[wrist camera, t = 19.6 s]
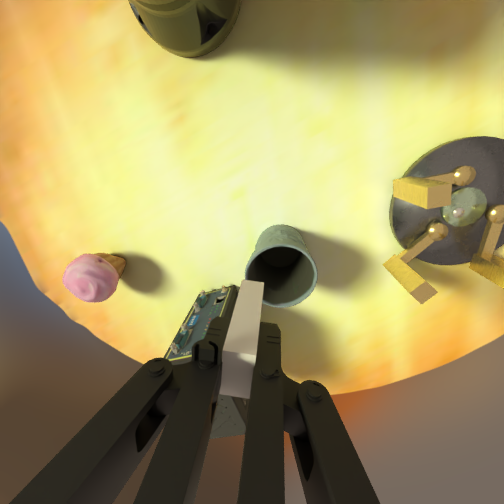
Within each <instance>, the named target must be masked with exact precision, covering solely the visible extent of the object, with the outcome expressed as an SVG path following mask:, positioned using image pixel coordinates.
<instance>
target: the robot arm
mask: <svg viewBox="0 0 504 504" xmlns="http://www.w3.org/2000/svg"><path fill="white" fill-rule="evenodd" d="M128 1H129V3H130V6H131V8H132V10H133V13H134V15H135V17H136V18H137V20H138V22H139V23H140V25H141V26H142V28H143V29H144V30H145V31H146V33H147V34H148V35H149V36H150V37H151V38H152V39H153V40H154V41H155V42H156V43H158V44H159V45H160V46H161V47H162V48H164V49H165V50H167V51H169V52H171V53H173V54H175V55H178V56H182V57H197V56H201V55H204V54H207V53H209V52H211V51H212V50H214V49H215V48H217V47H218V46H219V45H220V44H221V43H222V42H223V41H224V40H225V38H226V37H227V36H228V34H229V33H230V31H231V29H232V28H233V26H234V23H235V21H236V18H237V15H238V12H239V8H240V3H241V0H128ZM263 289H264V282H256V281H249V280H242V283H241V286H240V290H239V293H238V297H237V300H236V304H235V308H234V311H233V315H232V318H226V317H219V316H216V317H215V318H214V319H213V320H212V321H211V322H210V325H209V327H208V330H207V332H206V335H205V337H204V339H202V340H199V341H197V342H196V343H194V345H193V346H192V360H191V361H190V362H187V363H184V364H177V365H172V363H171V361H169V360H168V359H166V358H154V359H152V360H149V361H148V362H147V363H145V364H144V365H143V366H142V367H141V368H140V369H139V370H138V371H137V372H136V373H135V374H134V375H133V377H132V378H130V380H129V381H128V382H127V383H126V384H125V385H124V386H123V387H122V388H121V389H120V390H119V391H118V392H117V393H116V394H115V395H114V396H113V397H112V398H111V399H110V400H109V401H108V402H107V403H106V404H105V405H104V406H103V407H102V409H100V410H99V411H98V412H97V414H96V415H95V416H94V417H93V418H92V419H91V420H90V421H89V422H88V423H87V424H86V425H85V426H84V427H83V428H82V429H81V430H80V431H79V432H78V433H77V434H76V435H75V436H74V437H73V438H72V439H71V440H70V441H69V442H68V443H67V444H66V446H64V447H63V449H62V450H61V451H60V452H59V453H58V454H57V455H56V456H55V457H54V458H53V459H52V460H51V461H50V462H49V463H48V464H47V465H46V466H45V467H44V468H43V469H42V470H41V471H40V472H39V473H38V474H37V475H36V476H35V477H34V478H33V479H32V480H31V482H30V483H29V484H28V485H27V486H26V487H25V488H24V489H23V490H22V491H21V492H20V493H19V494H18V495H17V496H16V497H15V498H14V499H13V500H12V501H11V502H10V503H9V504H112V503H113V502H114V500H115V499H116V497H117V496H118V494H119V493H120V491H121V490H122V488H123V487H124V485H125V484H126V482H127V481H128V480H129V478H130V476H131V475H132V473H133V472H134V471H135V469H136V468H137V466H138V464H139V463H140V462H141V460H142V458H143V457H144V456H145V454H146V453H147V451H148V450H149V448H150V447H151V445H152V444H153V442H154V441H155V439H156V438H157V436H158V435H159V433H160V432H161V430H162V429H163V428H164V430H163V433H162V435H161V437H160V440H159V442H158V444H157V447H156V449H155V452H154V454H153V457H152V459H151V462H150V464H149V467H148V469H147V472H146V474H145V476H144V479H143V481H142V484H141V486H140V489H139V491H138V493H137V496H136V499H135V501H134V503H133V504H194V501H195V497H196V492H197V489H198V484H199V480H200V476H201V472H202V468H203V463H204V459H205V455H206V451H207V446H208V442H209V438H210V434H211V430H212V425H213V421H214V417H215V413H216V409H217V402H218V395H219V394H222V395H229V396H235V397H241V398H247V399H249V407H248V414H247V423H246V431H245V440H244V448H243V456H242V465H241V474H240V481H239V490H238V498H237V504H285V493H284V491H285V487H284V431H286V432H288V433H289V436H290V440H291V444H292V448H293V452H294V456H295V460H296V463H297V467H298V471H299V475H300V479H301V483H302V486H303V490H304V494H305V498H306V502H307V504H380V502H379V500H378V498H377V496H376V494H375V491H374V489H373V487H372V485H371V483H370V480H369V478H368V476H367V474H366V472H365V470H364V467H363V465H362V463H361V461H360V459H359V457H358V454H357V452H356V450H355V448H354V446H353V444H352V441H351V439H350V437H349V435H348V433H347V431H346V429H345V426H344V424H343V422H342V420H341V418H340V416H339V413H338V411H337V409H336V407H335V405H334V403H333V400H332V398H331V396H330V394H329V392H328V391H327V389H326V388H325V387H324V386H323V385H322V384H321V383H319V382H316V381H312V380H307V381H304V382H302V383H301V384H299V383H297V382H295V381H293V380H291V379H289V378H288V377H287V376H286V375H285V374H284V373H283V371H282V369H281V345H280V344H281V339H280V338H281V334H280V329H279V327H278V326H277V324H271V323H264V322H260V317H261V308H262V298H263ZM219 391H220V393H219ZM164 426H165V427H164Z"/></svg>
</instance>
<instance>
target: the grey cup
mask: <svg viewBox="0 0 504 504" xmlns="http://www.w3.org/2000/svg"><path fill="white" fill-rule="evenodd" d="M245 280H249V281H256V282H264V289H263V298H262V303H264V304H266V305H269V306H272V307H279V308H282V307H290V306H294V305H296V304H298V303H300V302H302V301H303V300H304V299H306V298H307V297H308V296H309V295H310V294H311V293H312V291H313V290H314V288H315V285H316V283H317V268H316V265H315V262H314V261H313V259H312V257H311V255H310V253H309V252H308V250H307V247H306V245H305V243H304V241H303V239H302V237H301V235H300V234H299V233H298V231H296V230H295V229H294V228H292V227H290V226H287V225H275V226H271V227H269V228H267V229H266V230H265V231H264V232H263V233H262V234H261V235H260V237H259V239H258V241H257V244H256V247H255V251H254V252H253V253H252V255H251V257H250V259H249V261H248V264H247V266H246V270H245Z"/></svg>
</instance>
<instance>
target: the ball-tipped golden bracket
mask: <svg viewBox="0 0 504 504" xmlns="http://www.w3.org/2000/svg"><path fill="white" fill-rule="evenodd" d="M485 218H486V220H487V224H486V227H485V230H484V233H483V236H482V239H481V242H480V245H479V248H478V252H477V253H474V254H473V257H472V260H471V263H470V266H469V268H470V269H472V270H474V271H475V272H477V273H479V274H480V275H482V276H484V277H485V278H487V279H489V280H490V281H492V282H494V283H495V284H497V285H499V286H500V287H502V288H504V260H503V259H501V258H499V257H497V256H495V255H493V252H494V250H495V247H496V244H497V241H498V238H499V235H500V232H501V229H502V227H503V224H504V205H502V204H494V205H492V206H490V207H489V208H488V209H487V210H486V212H485Z"/></svg>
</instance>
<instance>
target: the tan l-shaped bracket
mask: <svg viewBox="0 0 504 504" xmlns="http://www.w3.org/2000/svg"><path fill="white" fill-rule="evenodd" d="M475 176H476V171H475V169H474V168H473V167H471V166H458V167H456V168H454V169H453V170H452V171H451V172H447V173H442V174H437V175H432V176H427V177H422V178H419V177H413V176H410V177H405V178H400V179H395V180H393V196H394V197H396V198H398V199H401V200H404V201H406V202H409V203H412V204H414V205H417V206H420V207H422V208H425V209H431V208H437V207H443V206H448V205H451V192H452V184H454V185H458V186H466V185H468V184H470V183H471V182H472V181H473V180H474V178H475Z"/></svg>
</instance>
